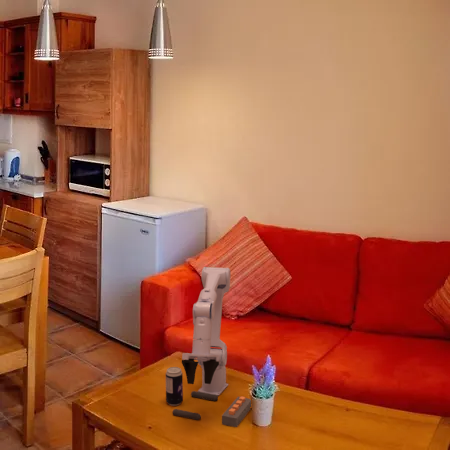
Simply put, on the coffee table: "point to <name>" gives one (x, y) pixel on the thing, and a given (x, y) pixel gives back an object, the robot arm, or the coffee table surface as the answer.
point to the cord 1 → (186, 414)
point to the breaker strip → (236, 411)
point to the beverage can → (174, 386)
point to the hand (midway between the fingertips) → (199, 383)
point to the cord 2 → (204, 396)
